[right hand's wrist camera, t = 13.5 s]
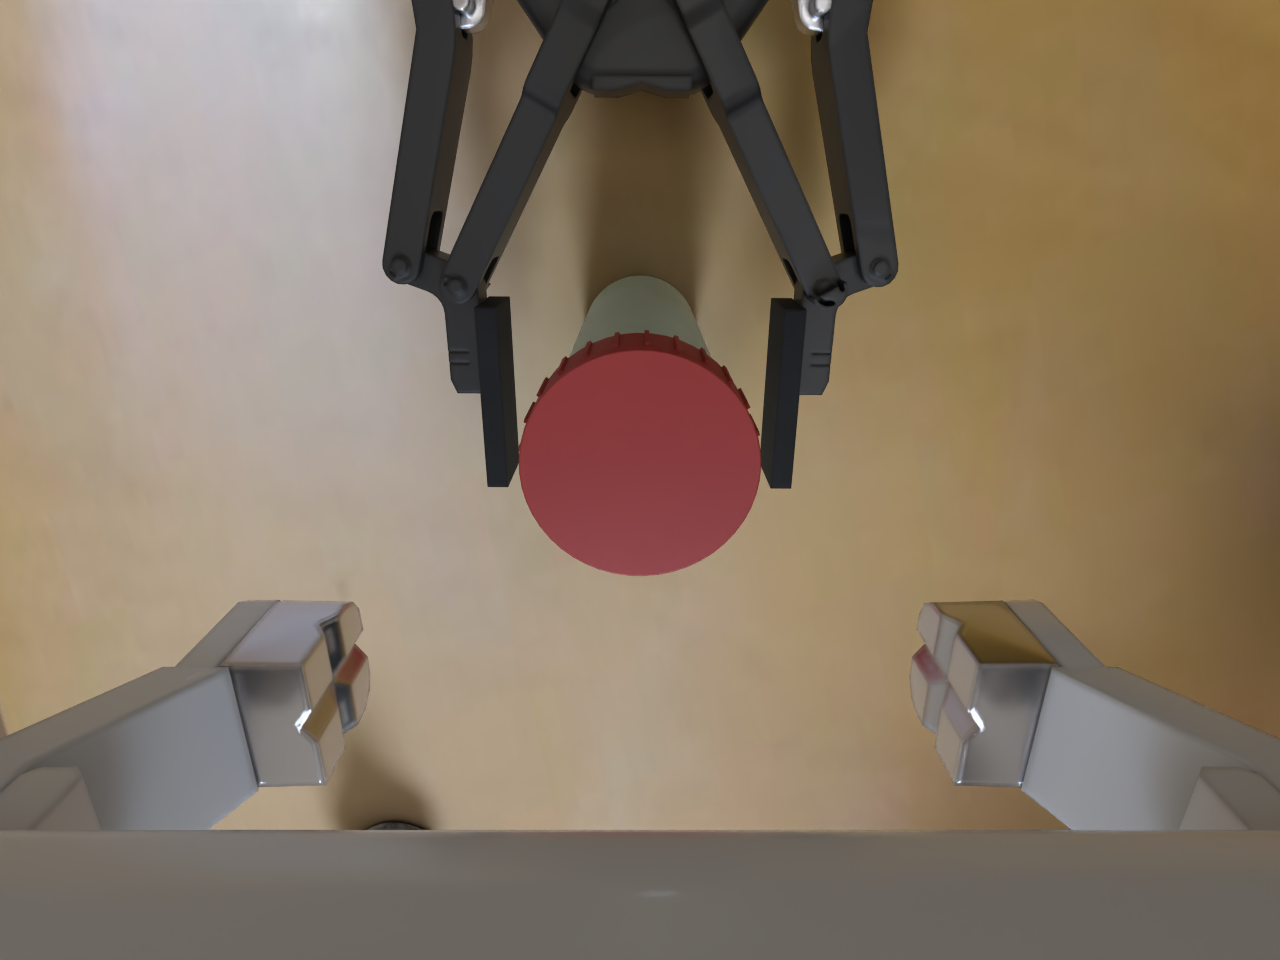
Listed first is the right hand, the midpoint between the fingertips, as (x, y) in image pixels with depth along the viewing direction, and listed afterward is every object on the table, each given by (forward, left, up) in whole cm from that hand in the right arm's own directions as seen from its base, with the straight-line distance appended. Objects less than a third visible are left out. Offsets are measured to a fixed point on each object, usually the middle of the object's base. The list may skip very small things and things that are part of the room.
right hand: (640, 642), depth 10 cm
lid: (0, 0, -7) cm, 7 cm away
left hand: (-3, -3, -18) cm, 18 cm away
